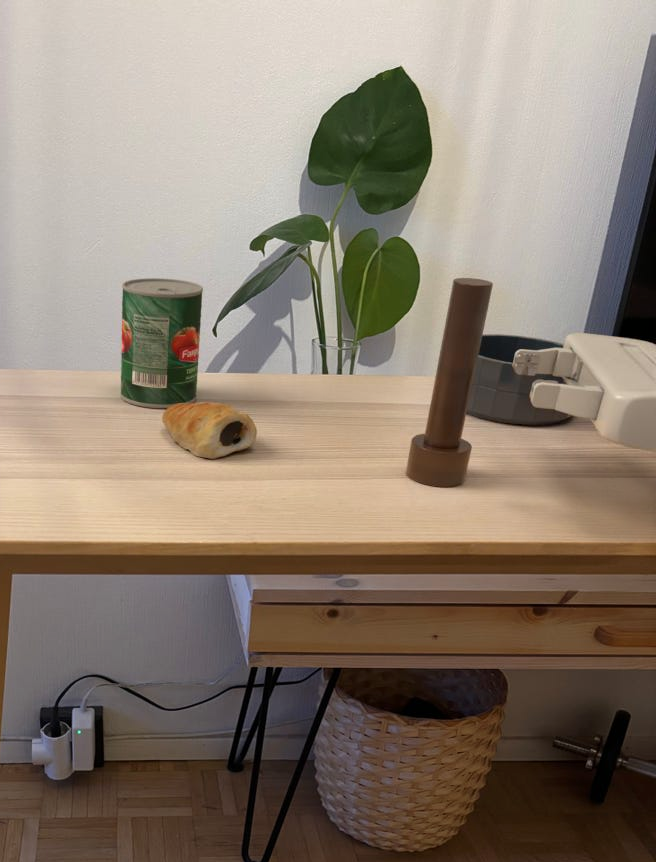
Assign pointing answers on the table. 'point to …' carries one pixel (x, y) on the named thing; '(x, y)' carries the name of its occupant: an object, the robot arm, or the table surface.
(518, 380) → the bowl
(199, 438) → the pastry
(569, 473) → the table surface
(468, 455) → the stirrer
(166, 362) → the canned tomato
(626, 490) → the table surface
